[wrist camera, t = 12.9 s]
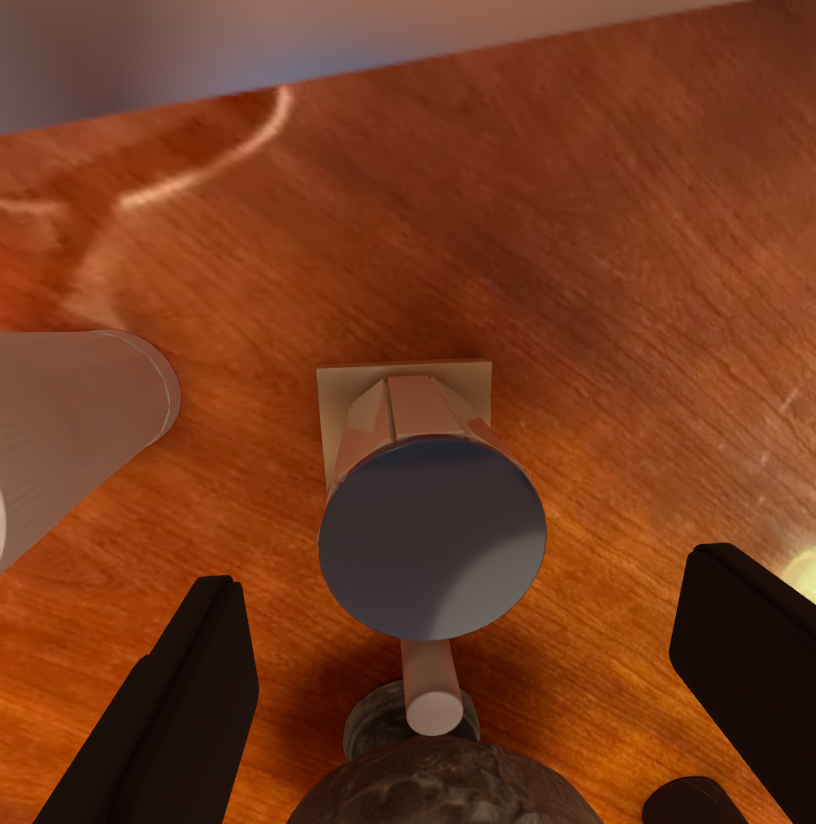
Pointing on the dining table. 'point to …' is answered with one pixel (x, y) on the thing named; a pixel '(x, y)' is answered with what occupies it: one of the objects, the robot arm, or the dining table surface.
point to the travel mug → (692, 804)
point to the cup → (72, 422)
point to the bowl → (434, 775)
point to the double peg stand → (337, 388)
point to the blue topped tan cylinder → (427, 515)
